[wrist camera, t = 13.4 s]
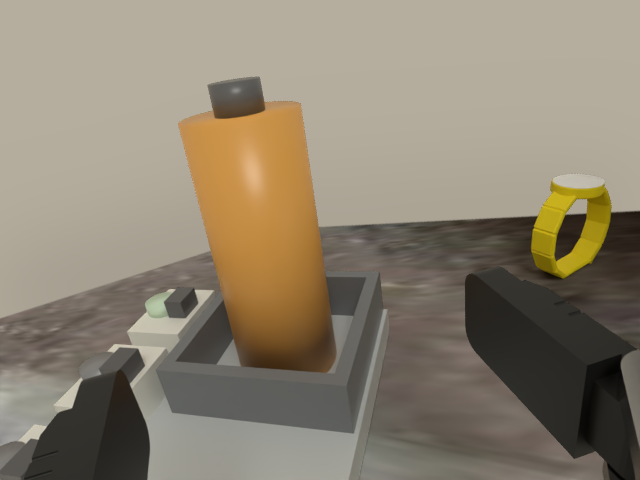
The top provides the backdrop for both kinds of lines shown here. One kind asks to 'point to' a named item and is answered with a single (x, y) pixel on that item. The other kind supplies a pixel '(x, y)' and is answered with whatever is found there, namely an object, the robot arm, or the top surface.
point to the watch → (554, 213)
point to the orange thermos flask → (262, 226)
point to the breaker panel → (241, 392)
